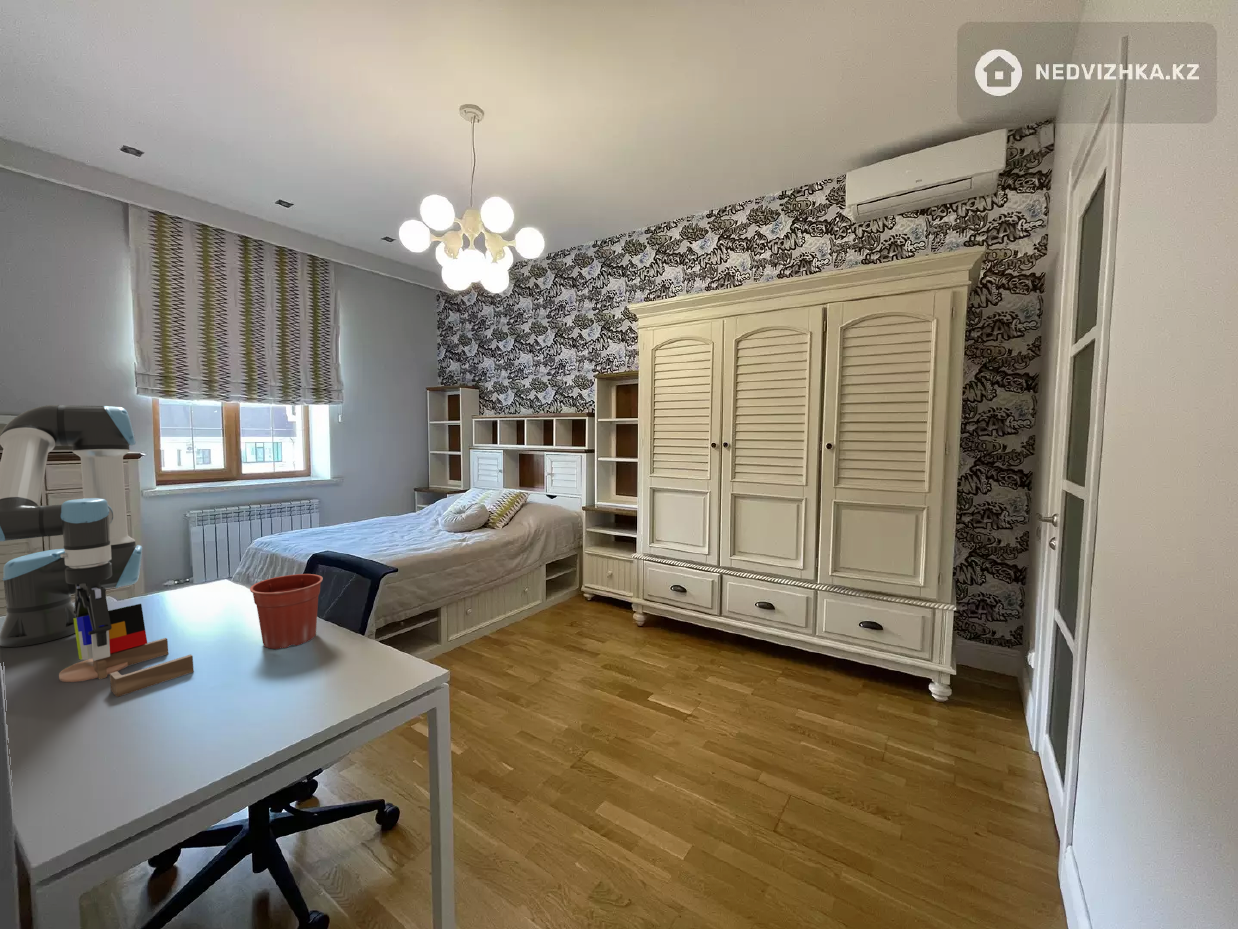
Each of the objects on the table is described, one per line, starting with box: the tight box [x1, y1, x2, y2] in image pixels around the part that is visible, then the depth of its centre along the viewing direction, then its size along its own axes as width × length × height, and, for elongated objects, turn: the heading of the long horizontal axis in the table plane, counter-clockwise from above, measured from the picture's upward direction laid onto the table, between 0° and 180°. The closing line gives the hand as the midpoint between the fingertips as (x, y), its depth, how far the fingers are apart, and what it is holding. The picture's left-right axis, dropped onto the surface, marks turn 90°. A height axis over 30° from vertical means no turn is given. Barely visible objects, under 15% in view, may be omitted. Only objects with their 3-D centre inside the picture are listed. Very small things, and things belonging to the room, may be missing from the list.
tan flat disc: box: [58, 659, 129, 683], centre depth 117 cm, size 12×12×1 cm
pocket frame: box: [93, 637, 195, 698], centre depth 115 cm, size 18×13×4 cm
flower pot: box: [249, 573, 324, 650], centre depth 133 cm, size 16×16×16 cm
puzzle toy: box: [73, 603, 148, 661], centre depth 120 cm, size 10×10×10 cm
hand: (94, 651), depth 117 cm, fingers open, 12 cm apart
